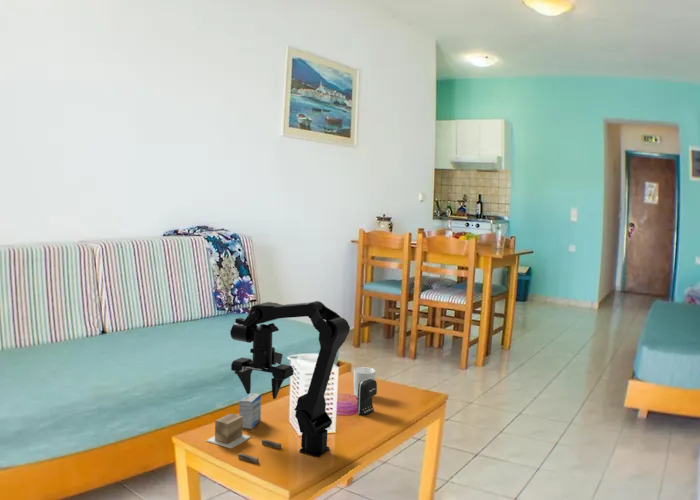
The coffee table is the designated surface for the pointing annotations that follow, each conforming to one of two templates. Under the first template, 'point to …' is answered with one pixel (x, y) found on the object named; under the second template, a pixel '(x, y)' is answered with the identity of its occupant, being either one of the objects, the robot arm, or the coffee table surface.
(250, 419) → the medicine box
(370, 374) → the white cup
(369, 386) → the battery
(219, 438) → the block
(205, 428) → the coffee table surface
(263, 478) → the coffee table surface
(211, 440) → the plate
